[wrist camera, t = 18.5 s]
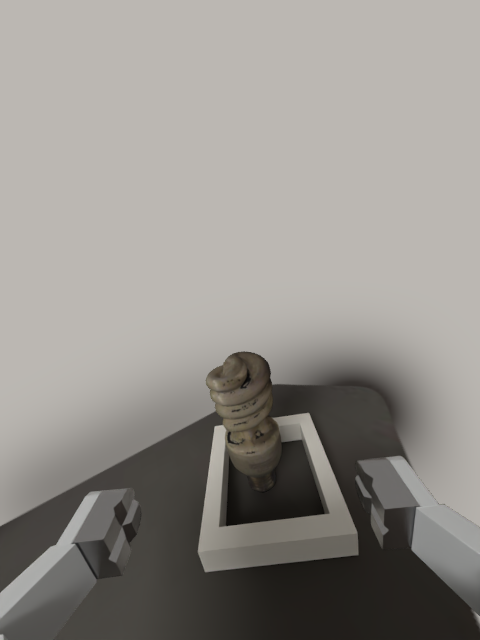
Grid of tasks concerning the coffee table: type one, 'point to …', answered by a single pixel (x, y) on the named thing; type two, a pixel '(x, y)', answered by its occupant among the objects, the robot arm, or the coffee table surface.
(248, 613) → the coffee table surface
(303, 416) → the bulb holder
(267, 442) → the light bulb
